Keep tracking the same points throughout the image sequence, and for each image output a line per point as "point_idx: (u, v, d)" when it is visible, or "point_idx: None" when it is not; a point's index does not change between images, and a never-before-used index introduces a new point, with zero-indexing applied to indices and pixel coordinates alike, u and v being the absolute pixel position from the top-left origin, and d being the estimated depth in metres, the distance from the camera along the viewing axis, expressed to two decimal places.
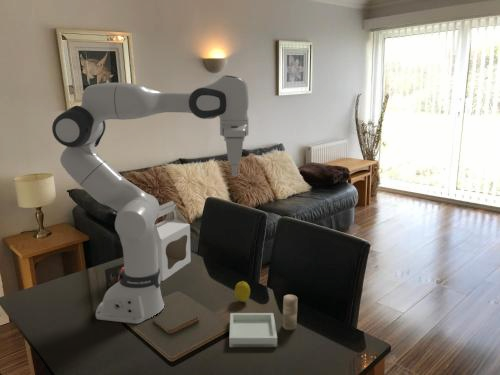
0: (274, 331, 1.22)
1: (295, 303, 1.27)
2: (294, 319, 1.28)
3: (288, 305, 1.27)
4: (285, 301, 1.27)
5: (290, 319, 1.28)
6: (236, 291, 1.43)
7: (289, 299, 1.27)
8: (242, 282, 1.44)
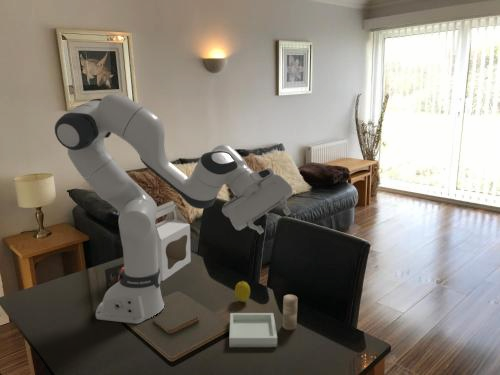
0: (274, 331, 1.22)
1: (295, 303, 1.27)
2: (294, 319, 1.28)
3: (288, 304, 1.27)
4: (285, 301, 1.27)
5: (290, 319, 1.28)
6: (236, 291, 1.43)
7: (289, 299, 1.27)
8: (242, 282, 1.44)
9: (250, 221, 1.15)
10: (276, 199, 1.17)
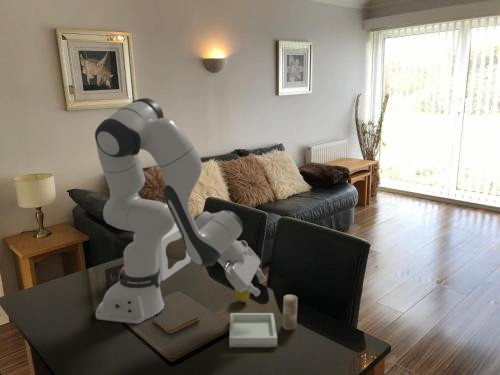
0: (274, 331, 1.22)
1: (295, 303, 1.27)
2: (294, 319, 1.28)
3: (288, 304, 1.27)
4: (285, 301, 1.27)
5: (290, 319, 1.28)
6: (236, 291, 1.43)
7: (289, 299, 1.27)
8: None
9: (251, 283, 1.23)
10: (257, 267, 1.32)
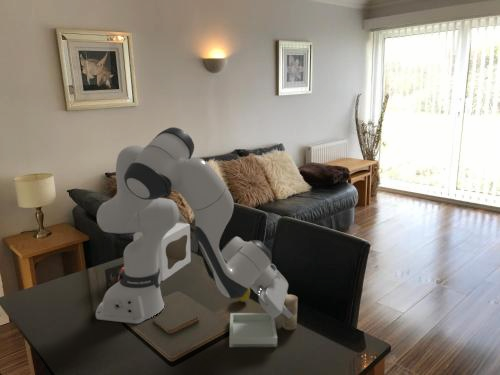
0: (274, 331, 1.22)
1: (295, 303, 1.27)
2: (294, 319, 1.28)
3: (288, 305, 1.27)
4: (285, 301, 1.27)
5: (290, 319, 1.28)
6: None
7: (289, 299, 1.27)
8: None
9: (284, 305, 1.25)
10: (286, 290, 1.33)
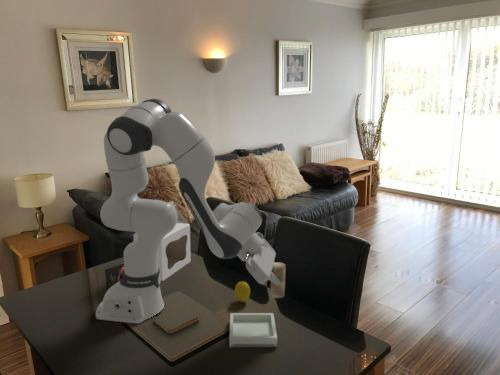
0: (274, 331, 1.22)
1: (283, 270, 1.25)
2: (282, 287, 1.26)
3: (276, 272, 1.25)
4: (273, 268, 1.25)
5: (278, 286, 1.25)
6: (236, 291, 1.43)
7: (277, 266, 1.25)
8: (242, 282, 1.44)
9: (271, 272, 1.23)
10: (274, 259, 1.30)
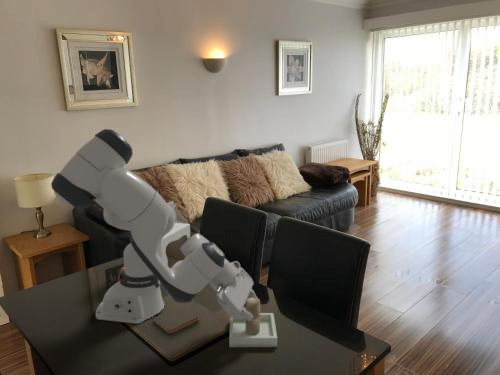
0: (274, 331, 1.22)
1: (257, 307, 1.23)
2: (256, 323, 1.24)
3: (250, 308, 1.22)
4: (247, 304, 1.23)
5: (252, 323, 1.23)
6: None
7: (251, 303, 1.23)
8: None
9: (243, 308, 1.19)
10: (250, 289, 1.28)
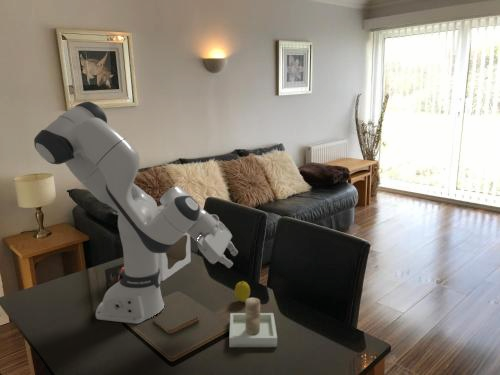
0: (274, 331, 1.22)
1: (257, 307, 1.23)
2: (256, 323, 1.24)
3: (250, 308, 1.22)
4: (247, 304, 1.23)
5: (252, 323, 1.23)
6: (236, 291, 1.43)
7: (251, 303, 1.23)
8: (242, 282, 1.44)
9: (223, 255, 1.22)
10: (229, 240, 1.32)
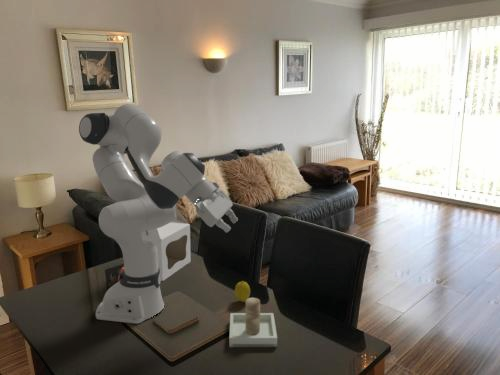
0: (274, 331, 1.22)
1: (257, 307, 1.23)
2: (256, 323, 1.24)
3: (250, 308, 1.22)
4: (247, 304, 1.23)
5: (252, 323, 1.23)
6: (236, 291, 1.43)
7: (251, 303, 1.23)
8: (242, 282, 1.44)
9: (221, 219, 1.24)
10: (228, 207, 1.33)
